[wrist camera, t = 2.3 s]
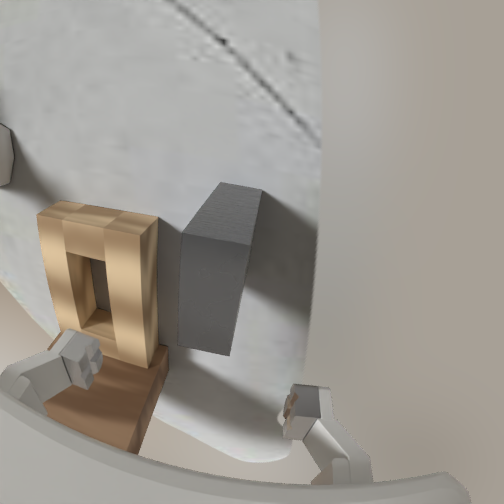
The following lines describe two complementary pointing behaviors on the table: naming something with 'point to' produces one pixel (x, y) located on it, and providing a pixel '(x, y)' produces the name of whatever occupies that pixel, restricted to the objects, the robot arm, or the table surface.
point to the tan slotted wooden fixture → (107, 317)
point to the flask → (5, 155)
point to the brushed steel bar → (215, 267)
